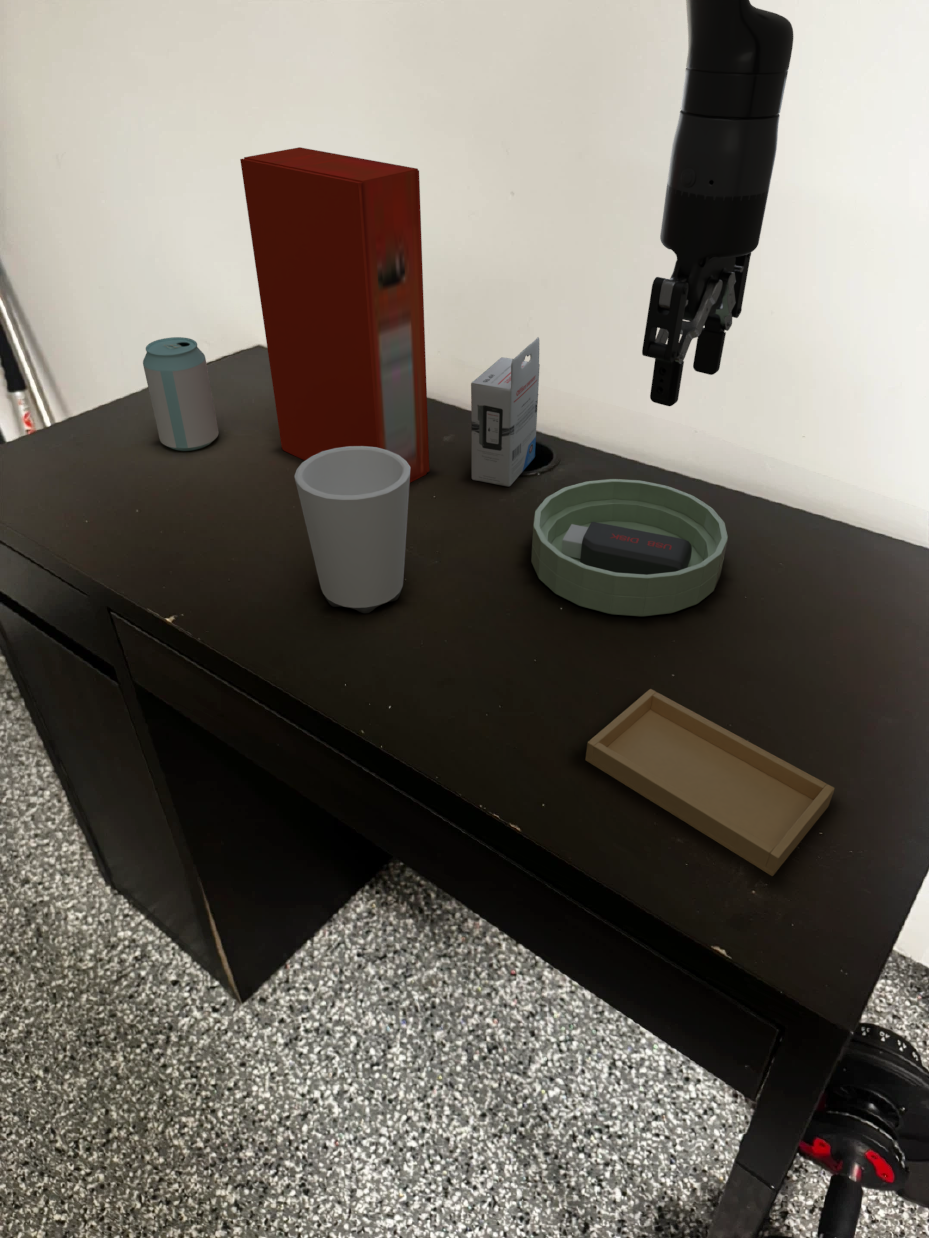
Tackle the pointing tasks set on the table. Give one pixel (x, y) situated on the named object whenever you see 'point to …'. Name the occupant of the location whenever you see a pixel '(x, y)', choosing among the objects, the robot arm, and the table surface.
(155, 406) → the can
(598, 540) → the usb drive
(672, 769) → the tray
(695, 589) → the green round dish
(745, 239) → the robot arm
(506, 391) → the ink box
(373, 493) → the cup
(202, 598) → the table surface
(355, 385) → the file binder
